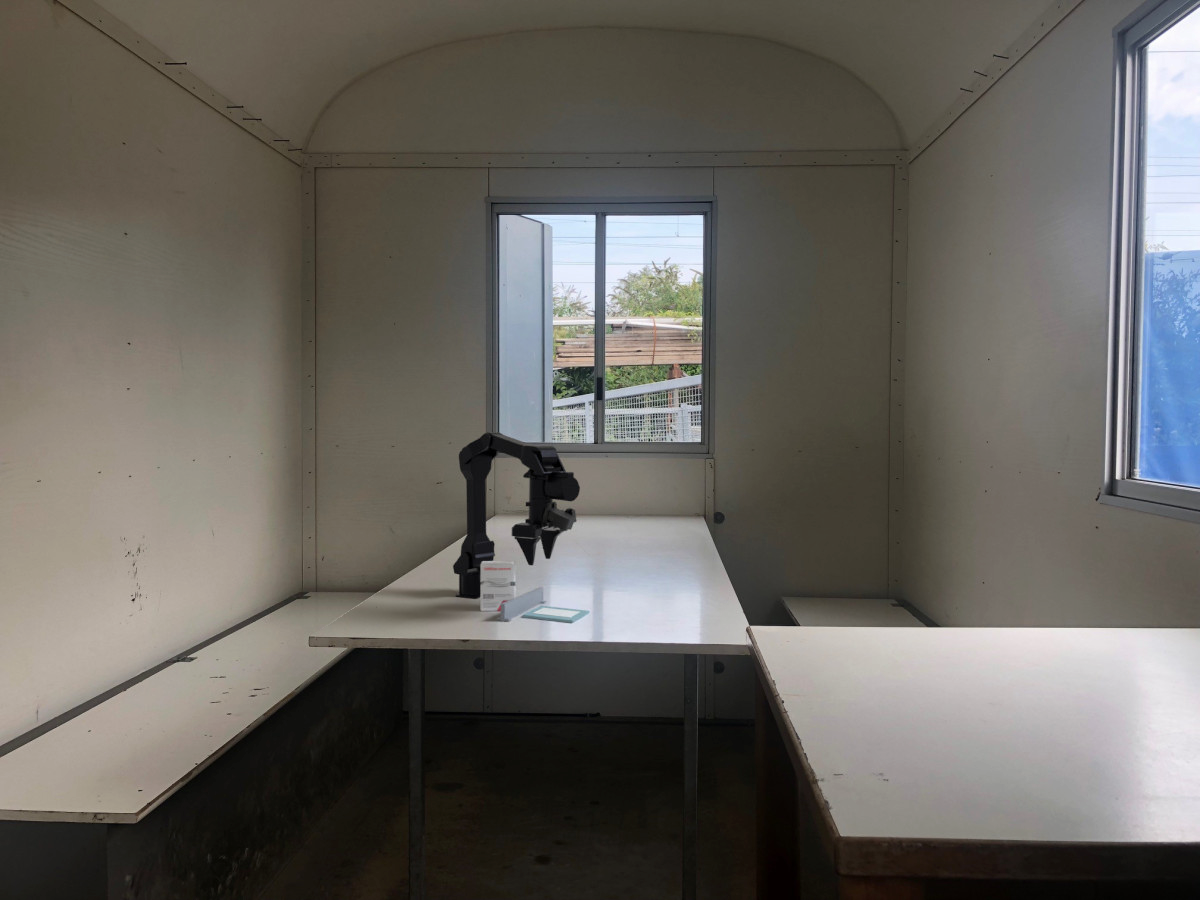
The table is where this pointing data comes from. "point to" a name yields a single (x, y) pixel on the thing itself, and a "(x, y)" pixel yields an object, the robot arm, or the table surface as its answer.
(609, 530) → the table surface
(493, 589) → the ink box
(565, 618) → the teal picture frame
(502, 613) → the grey long bar
